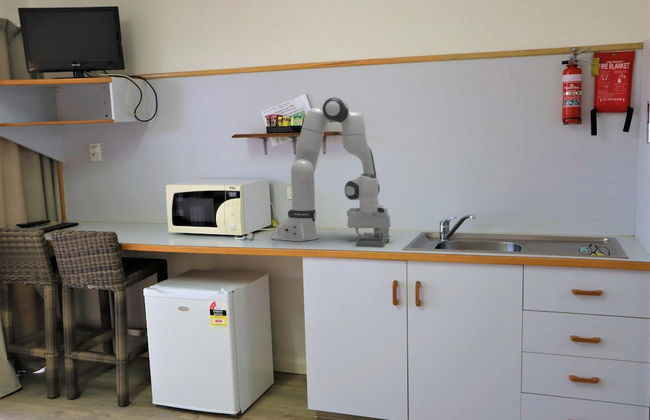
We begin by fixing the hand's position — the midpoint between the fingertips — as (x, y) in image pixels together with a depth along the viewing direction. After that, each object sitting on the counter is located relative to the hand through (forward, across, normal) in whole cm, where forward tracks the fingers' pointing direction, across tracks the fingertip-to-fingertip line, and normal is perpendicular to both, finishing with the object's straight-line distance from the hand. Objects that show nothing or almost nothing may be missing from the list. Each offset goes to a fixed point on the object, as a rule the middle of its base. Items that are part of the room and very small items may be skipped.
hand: (368, 237), depth 293 cm
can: (+3, +4, +16) cm, 17 cm away
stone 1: (+2, 0, -1) cm, 2 cm away
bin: (+2, +2, -10) cm, 11 cm away
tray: (+2, +2, +1) cm, 3 cm away
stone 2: (+2, +5, +3) cm, 6 cm away
